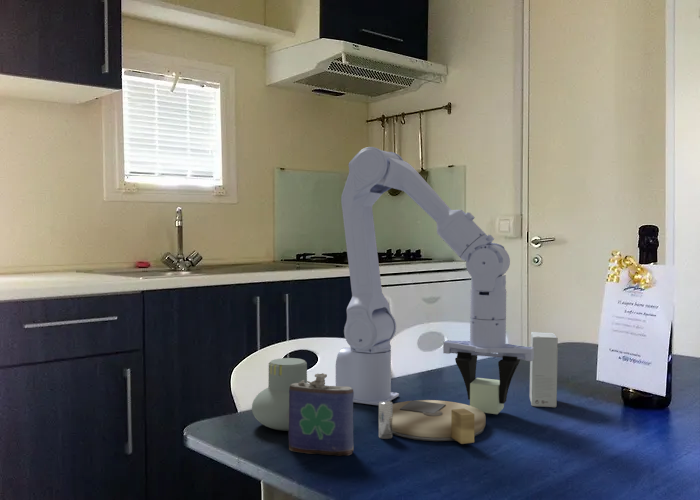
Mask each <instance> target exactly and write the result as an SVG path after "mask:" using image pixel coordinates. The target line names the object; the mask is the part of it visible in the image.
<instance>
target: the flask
mask: <svg viewBox="0 0 700 500" xmlns="http://www.w3.org/2000/svg"><path fill="white" fill-rule="evenodd" d="M327 376H328V374H327V373H315V374H314V377H315V380H313V381H309V380H307V383H304V382H305V380H303V381H301V382H299V383H294V384H291V385H290V388H289V431H288V432H287V433H288V450H289V451H291V452H297V453H302V454H303V453H305V454H311V455H312V454H314V455H316V454H319V455H325V456H340V457H341V456H350V455H353V452H354V402H353V396H354V392H353V389H352V388H351V387H348V386H336V385H326V382H325V381H326V380H325V379H326V378H327Z"/></svg>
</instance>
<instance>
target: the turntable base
mask: <svg viewBox="0 0 700 500" xmlns="http://www.w3.org/2000/svg"><path fill="white" fill-rule="evenodd" d="M393 404H394V403H393V402H392V401H381V402H379V405H378V438H379V439H381V440H388V439H389V440H390V439H392V438H393V435H395V436H398V437H401V438H404V439H409V440H416V441H423V442H424V441H425V442H426V441H427V442H454V441H455V442H457V441H456V440H455V439H453V438H451V437H446V438H433V437H420V436H412V435H407V434H402V433H399V432H396V431H393V430H392V407H393ZM484 430H485V427H484V428H483V429H482V430H481V431H479V432H476V433H474V438H475V437H477V436H479V435H480V434H482V433H483V432H484Z"/></svg>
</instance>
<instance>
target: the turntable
mask: <svg viewBox="0 0 700 500" xmlns="http://www.w3.org/2000/svg"><path fill="white" fill-rule="evenodd" d="M485 427H486V413H484V412H482V411H481V410H479V409H477V408H475V407H472V406H470V404H466V403H461V402H455V401H447V400H439V399H438V400H437V399H436V400H435V399H418V400H405V401H400V402H395V403H393V407H392V430H393V431H396V432H399V433H402V434H407V435H412V436H420V437H433V438H446V437H451V438H453V439H455V440H456V441H455V442H458V443H459V444H461V445H464V444H472V443H473V444H474V443H475V437H474V433H476V432H479V431H481V430H482V429H483V428H484V429H485Z"/></svg>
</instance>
